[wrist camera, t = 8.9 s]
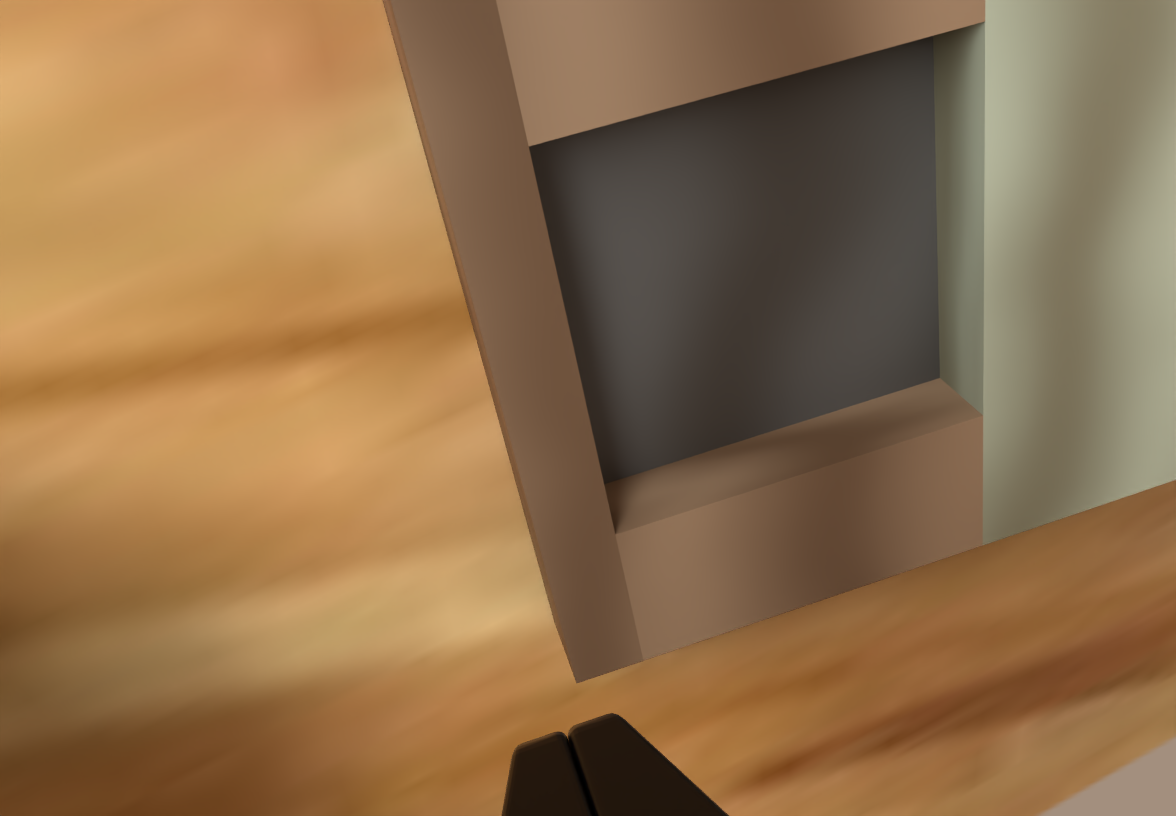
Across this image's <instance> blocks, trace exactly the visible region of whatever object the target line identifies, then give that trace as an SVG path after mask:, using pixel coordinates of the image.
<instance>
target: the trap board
mask: <svg viewBox="0 0 1176 816" xmlns="http://www.w3.org/2000/svg"><path fill="white" fill-rule="evenodd" d="M383 3H384V7H385V10H386V14H387V17H388V21H389V25H390V28H391V32H392V35H393V39H394V43H395V46H396V50H397V54H398V57H399V61H400V64H401V68H402V72H403V75H404V79H405V83H406V86H407V90H408V93H409V97H410V101H411V104H412V108H413V112H414V115H415V119H416V122H417V126H418V130H419V133H420V137H421V140H422V144H423V148H424V151H425V155H426V159H427V162H428V166H429V169H430V173H431V177H432V180H433V184H434V188H435V191H436V195H437V198H438V202H439V206H440V209H441V213H442V217H443V220H444V224H445V227H446V231H447V235H448V238H449V242H450V245H451V249H452V253H453V256H454V260H455V264H456V267H457V271H458V274H459V278H460V282H461V285H462V289H463V293H464V296H465V300H466V303H467V307H468V311H469V314H470V318H471V322H472V325H473V329H474V332H475V336H476V340H477V343H478V347H479V350H480V354H481V358H482V361H483V365H484V369H485V372H486V376H487V379H488V383H489V387H490V390H491V394H492V398H493V401H494V405H495V408H496V412H497V416H498V419H499V423H500V427H501V430H502V434H503V437H504V441H505V445H506V448H507V452H508V456H509V459H510V463H511V466H512V470H513V474H514V477H515V481H516V484H517V488H518V492H519V495H520V499H521V503H522V506H523V510H524V513H525V517H526V521H527V524H528V528H529V532H530V535H531V539H532V542H533V546H534V550H535V553H536V557H537V561H538V564H539V568H540V571H541V575H542V579H543V582H544V586H545V589H546V593H547V597H548V600H549V604H550V608H551V611H552V615H553V618H554V622H555V625H556V628H557V630H558V633H559V636H560V639H561V642H562V644H563V647H564V650H565V653H566V655H567V658H568V661H569V664H570V666H571V669H572V672H573V675H574V677H575V680H576V683H579V682H582V681H585V680H588V679H591V678H594V677H597V676H600V675H603V674H606V673H609V672H612V671H615V670H618V669H621V668H624V667H626V666H629V665H632V664H635V663H638V662H641V661H644V660H647V659H650V658H653V657H656V656H659V655H662V654H665V653H668V652H671V651H674V650H677V649H679V648H682V647H685V646H688V645H691V644H694V643H697V642H700V641H703V640H706V639H709V638H712V637H715V636H718V635H721V634H724V633H727V632H729V631H732V630H735V629H738V628H741V627H744V626H747V625H750V624H753V623H756V622H759V621H762V620H765V619H768V618H771V617H774V616H777V615H780V614H782V613H785V612H788V611H791V610H794V609H797V608H800V607H803V606H806V605H809V604H812V603H815V602H818V601H821V600H824V599H827V598H830V597H833V596H835V595H838V594H841V593H844V592H847V591H850V590H853V589H856V588H859V587H862V586H865V585H868V584H871V583H874V582H877V581H880V580H883V579H886V578H888V577H891V576H894V575H897V574H900V573H903V572H906V571H909V570H912V569H915V568H918V567H921V566H924V565H927V564H930V563H933V562H936V561H938V560H941V559H944V558H947V557H950V556H953V555H956V554H959V553H962V552H965V551H968V550H971V549H974V548H977V547H980V546H983V545H986V544H989V543H991V542H994V541H997V540H1000V539H1003V538H1006V537H1009V536H1012V535H1015V534H1018V533H1021V532H1024V531H1027V530H1030V529H1033V528H1036V527H1039V526H1042V525H1044V524H1047V523H1050V522H1053V521H1056V520H1059V519H1062V518H1065V517H1068V516H1071V515H1074V514H1077V513H1080V512H1083V511H1086V510H1089V509H1092V508H1094V507H1097V506H1100V505H1103V504H1106V503H1109V502H1112V501H1115V500H1118V499H1121V498H1124V497H1127V496H1130V495H1133V494H1136V493H1139V492H1142V491H1145V490H1147V489H1150V488H1153V487H1156V486H1159V485H1162V484H1165V483H1168V482H1171V481H1174V480H1176V0H383Z"/></svg>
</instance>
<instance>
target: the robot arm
mask: <svg viewBox="0 0 1176 816" xmlns="http://www.w3.org/2000/svg"><path fill="white" fill-rule="evenodd" d="M568 739H569V741H568ZM502 816H729V815H728V814H727V813H726V812H724V811H723V810H722V809H721V808H720V807H719V806H718V805H717V804H716V803H715V802H714V801H712V800H711V799H710V798H709V797H708V796H707V795H706V794H705V793H704V792H703V791H702V790H701V789H699V788H698V787H697V786H696V785H695V784H694V783H693V782H692V781H691V780H690V779H689V778H688V777H686V776H685V775H684V774H683V773H682V772H681V771H680V770H679V769H678V768H677V767H676V766H675V765H673V764H672V763H671V762H670V761H669V760H668V759H667V758H666V757H665V756H664V755H663V754H662V753H660V752H659V751H658V750H657V749H656V748H655V747H654V746H653V745H652V744H651V743H650V742H649V741H647V740H646V739H645V738H644V737H643V736H642V735H641V734H640V733H639V732H638V731H637V730H636V729H634V728H633V727H632V726H631V725H630V724H629V723H628V722H627V721H626V720H625V719H623V718H622V717H620V716H619V715H617V714H613V713H611V714H606V715H603V716H600V717H597V718H595V719H592V720H589V721H586V722H583V723H580V724H577V725H574V726H573V727H572V728H571V729H570V730H569V733H568V738H567V736H566V735H565V734H564V733H562V732H554V733H551V734H548V735H545V736H542V737H539V738H536V739H533V740H530V741H527V742H525V743H522V744H520V745H518V746H517V747H516V748H515V750H514V752H513V755H512V759H511V764H510V770H509V776H508V782H507V787H506V793H505V799H504V805H503V810H502Z"/></svg>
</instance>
